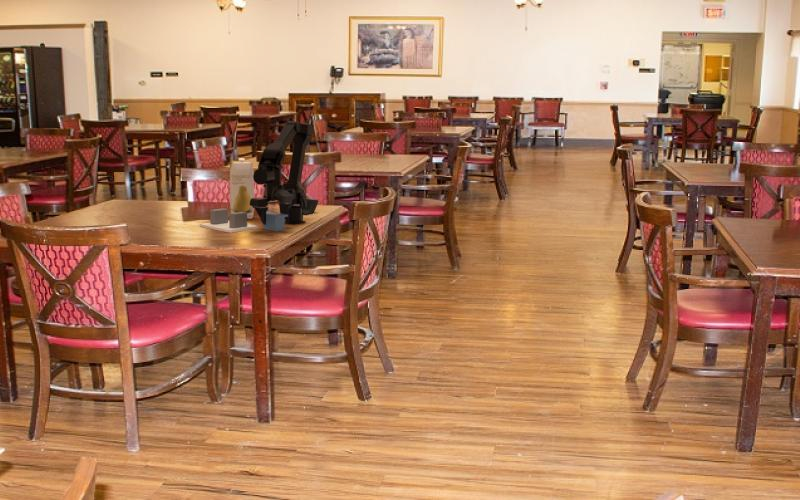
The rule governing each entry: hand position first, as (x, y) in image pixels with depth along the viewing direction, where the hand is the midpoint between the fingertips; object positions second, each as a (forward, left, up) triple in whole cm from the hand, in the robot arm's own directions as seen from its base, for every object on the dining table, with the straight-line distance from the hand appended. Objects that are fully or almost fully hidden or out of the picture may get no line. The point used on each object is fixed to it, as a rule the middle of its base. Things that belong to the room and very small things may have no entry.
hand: (273, 223), depth 329 cm
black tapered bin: (-35, -22, -3) cm, 41 cm away
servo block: (0, 0, -2) cm, 2 cm away
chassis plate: (+10, -14, -2) cm, 17 cm away
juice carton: (-8, -28, -2) cm, 29 cm away
